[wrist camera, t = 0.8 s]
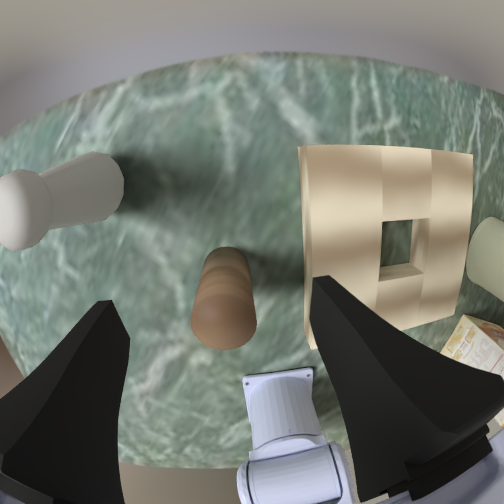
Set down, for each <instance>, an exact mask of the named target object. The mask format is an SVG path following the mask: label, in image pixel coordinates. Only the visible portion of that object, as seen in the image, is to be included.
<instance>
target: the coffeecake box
mask: <svg viewBox="0 0 504 504" xmlns="http://www.w3.org/2000/svg"><path fill="white" fill-rule="evenodd" d="M440 353H441V354H443V355H445V356H447V357H449V358H451V359H454V360H456V361H459V362H461V363H464V364H466V365H469V366H471V367H474V368H477V369H481V370H484V371H488V372H491V373H495V374H498V375H501V376H502V378H503V380H504V329H503V328H502V327H501V326H499V325H496V324H493V323H490V322H487V321H484V320H481V319H478V318H475V317H472V316H468V315H465V314H463V316H462V317H461V319H460V321H459V322H458V324H457V326H456V328H455V330H454V332H453V333H452V335H451V337H450V338H449V340H448V341H447V342H446V344H445V346H444V347H443V349H442V350H441V352H440ZM494 418H495V420H496V421H497V422H498V424H499V425H500V426H501V427H502V428H503V427H504V408H503V409H502V410H501V411H500V412H499V413H498V414H497V415H496V416H495V417H494Z"/></svg>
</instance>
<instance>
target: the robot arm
mask: <svg viewBox="0 0 504 504" xmlns="http://www.w3.org/2000/svg"><path fill="white" fill-rule="evenodd" d="M309 321H310V324H311V328H312V332H313V335H314V339H315V342H316V345H317V348H318V350H319V352H320V355H321V357H322V360H323V362H324V365H325V367H326V369H327V372H328V374H329V377H330V379H331V382H332V384H333V386H334V389H335V391H336V394H337V397H338V400H339V403H340V407H341V410H342V414H343V418H344V421H345V426H346V430H347V434H348V438H349V443H350V448H351V453H352V458H353V463H354V470H355V476H356V483H357V493H358V497H359V500H360V502H361V503H362V502H365V501H368V500H370V499H373V498H376V497H378V496H381V495H383V494H386V493H388V495H389V499H386V500H384V501H382V502H379V503H376V504H504V427H503V428H502V429H501V430H500V431H498V432H497V433H496V434H495V435H494V436H492V437H491V438H490V439H489V440H488V439H487V437H486V434H487V433H489V428H488V426H487V423H488V422H489V421H490V420H491V419H492V418H494V417H495V416H496V415H497V414H498V413H499V412H500V411H501V410H502V409H503V408H504V380H503V378H502V376H501V375H498V374H495V373H491V372H488V371H484V370H481V369H477V368H474V367H471V366H469V365H466V364H464V363H461V362H459V361H456V360H454V359H451V358H449V357H447V356H445V355H443V354H441V353H439V352H437V351H435V350H433V349H431V348H429V347H427V346H425V345H423V344H421V343H420V342H418V341H416V340H415V339H413V338H411V337H410V336H408V335H406V334H405V333H403V332H402V331H400V330H399V329H397V328H396V327H394V326H393V325H391V324H390V323H388V322H387V321H386V320H384V319H383V318H381V317H380V316H379V315H378V314H376V313H375V312H374V311H372V310H371V309H370V308H368V307H367V306H366V305H365V304H363V303H362V302H361V301H360V300H359V299H357V298H356V297H355V296H354V295H353V294H351V293H350V292H349V291H348V290H347V289H345V288H344V287H343V286H342V285H341V284H340V283H338V282H337V281H336V280H335V279H334V278H332V277H331V276H330V275H325V276H319V277H313V280H312V293H311V304H310V315H309ZM129 348H130V337H129V335H128V333H127V331H126V329H125V327H124V325H123V323H122V321H121V319H120V317H119V315H118V312H117V310H116V308H115V306H114V304H113V302H112V300H105V301H98V302H97V303H95V304H94V305H93V306H92V307H91V308H90V310H89V311H88V312H87V313H86V314H85V315H84V316H83V317H82V318H81V319H80V321H79V322H78V323H77V324H76V325H75V326H74V327H73V329H72V330H71V331H70V332H69V333H68V334H67V335H66V337H65V338H64V339H63V340H62V341H61V342H60V343H59V344H58V345H57V347H56V348H55V349H54V350H53V351H52V352H51V353H50V354H49V355H48V357H47V358H46V359H45V360H44V361H43V362H42V363H41V364H40V365H39V366H38V367H37V368H36V369H35V370H34V371H33V372H32V373H31V374H30V375H29V376H27V377H26V378H25V379H24V380H23V381H22V382H21V383H19V384H18V385H17V386H16V387H15V388H13V389H12V390H11V391H10V392H9V393H8V394H6V395H5V396H3V397H2V398H1V399H0V504H125V502H124V498H123V493H122V487H121V482H120V473H119V464H118V416H119V409H120V403H121V397H122V392H123V387H124V382H125V377H126V371H127V366H128V360H129ZM308 374H309V375H308ZM242 380H243V387H244V393H245V398H246V404H247V410H248V416H249V421H250V424H251V429H252V440H253V451H249V460H250V461H244V462H242V464H241V466H240V467H239V469H238V471H237V487H238V493H239V497H240V500H241V503H242V504H316V503H317V504H354V503H355V497H354V492H353V480H352V475H351V471H350V468H349V464H348V461H347V458H346V455H345V452H344V450H343V448H342V446H341V445H340V444H338V443H336V442H335V441H332V442H329V443H328V444H329V446H328V444H327V440H326V437H325V435H324V434H322V431H321V428H320V424H319V421H318V418H317V415H316V411H315V408H314V405H313V402H312V398H311V396H312V383H313V369H312V368H303V369H296V370H290V371H283V372H275V373H267V374H259V375H249V376H244V377H243V379H242ZM247 382H249V383H247ZM324 501H325V502H324ZM320 502H321V503H320Z"/></svg>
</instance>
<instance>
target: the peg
mask: <svg viewBox="0 0 504 504" xmlns="http://www.w3.org/2000/svg"><path fill="white" fill-rule="evenodd" d="M256 326H257V320H256V313H255V306H254V299H253V293H252V286H251V279H250V272H249V265H248V261H247V259H246V257H245V256H244V255H243V253H241V252H240V251H239V250H237V249H235V248H232V247H220V248H217V249H215V250H213V251H212V252H211V253H210V254H209V255H208V256H207V258H206V260H205V262H204V266H203V270H202V274H201V278H200V282H199V286H198V290H197V294H196V298H195V302H194V306H193V310H192V315H191V328H192V331H193V333H194V335H195V336H196V337H197V339H198V340H199V341H201V342H202V343H203V344H205V345H207V346H209V347H211V348H214V349H219V350H230V349H235V348H238V347H240V346H242V345H244V344H246V343H247V342H248V341H249V340H250V339H251V338H252V337H253V335H254V333H255V331H256Z"/></svg>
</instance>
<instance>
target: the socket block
mask: <svg viewBox="0 0 504 504" xmlns="http://www.w3.org/2000/svg"><path fill="white" fill-rule="evenodd" d="M298 157H299V171H300V186H301V203H302V223H303V250H304V332H305V335H306V338H307V340H308V343H309V345H310V348H311V350H313V349H318V348H317V345H316V342H315V339H314V335H313V332H312V328H311V324H310V321H309V315H310V304H311V293H312V280H313V277H319V276H325V275H330V276H331V277H332V278H334V279H335V280H336V281H337V282H338V283H340V284H341V285H342V286H343V287H344V288H345V289H347V290H348V291H349V292H350V293H351V294H353V295H354V296H355V297H356V298H357V299H359V300H360V301H361V302H362V303H363V304H365V305H366V306H367V307H368V308H370V309H371V310H372V311H374V312H375V313H376V314H378V315H379V316H380V317H381V318H383V319H384V320H386V321H387V322H388V323H390V324H391V325H393V326H394V327H396V328H397V329H399V330H400V331H401V330H405V329H409V328H412V327H416V326H419V325H423V324H426V323H430V322H433V321H436V320H439V319H442V318H446V317H449V316H452V315H454V312H455V308H456V304H457V300H458V296H459V291H460V287H461V282H462V277H463V272H464V267H465V261H466V255H467V248H468V241H469V233H470V224H471V212H472V196H473V155H471V154H464V153H457V152H450V151H441V150H432V149H422V148H410V147H396V146H376V145H305V146H300V147H298ZM410 219H413V222H412V237H411V249H410V259H409V263H404V264H397V265H391V266H384V267H380V256H381V239H382V222H383V221H396V220H410Z"/></svg>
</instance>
